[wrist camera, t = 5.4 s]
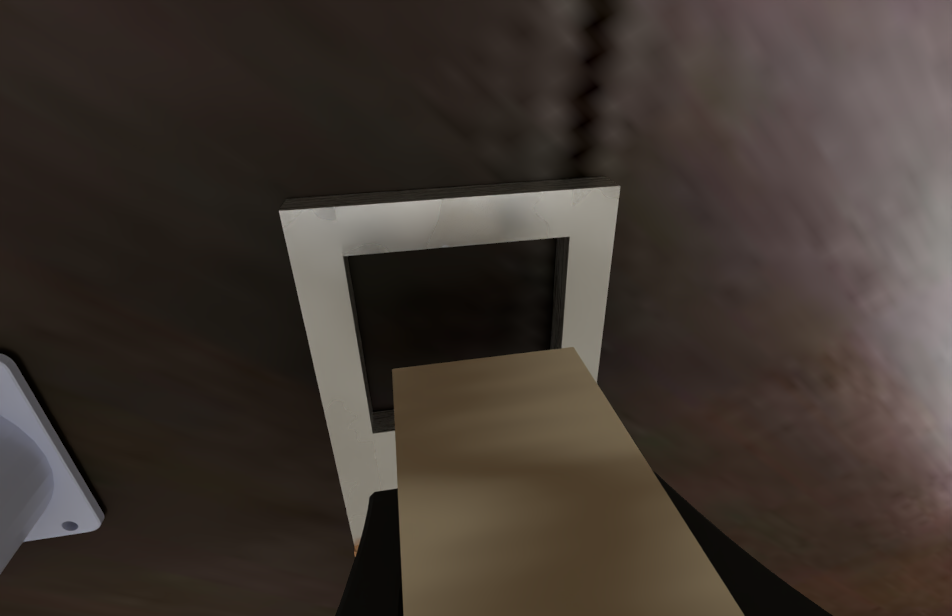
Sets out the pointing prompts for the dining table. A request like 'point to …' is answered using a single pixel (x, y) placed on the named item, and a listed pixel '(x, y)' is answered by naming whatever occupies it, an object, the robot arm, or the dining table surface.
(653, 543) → the birch peg
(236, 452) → the dining table surface
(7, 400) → the robot arm
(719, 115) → the dining table surface
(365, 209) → the rail
